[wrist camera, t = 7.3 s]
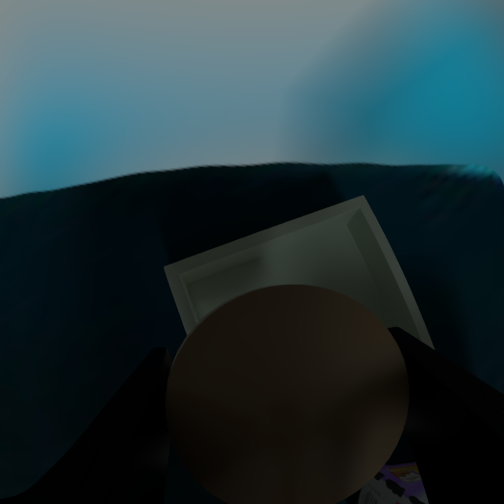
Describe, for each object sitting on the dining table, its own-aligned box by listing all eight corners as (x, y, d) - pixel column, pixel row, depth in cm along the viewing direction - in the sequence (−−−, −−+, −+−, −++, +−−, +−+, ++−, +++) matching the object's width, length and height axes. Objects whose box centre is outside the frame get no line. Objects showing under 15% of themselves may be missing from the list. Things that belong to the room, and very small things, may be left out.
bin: (417, 377, 22) (444, 379, 18) (248, 461, 20) (251, 481, 16) (347, 217, 26) (363, 195, 22) (174, 280, 24) (163, 266, 20)
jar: (331, 430, 14) (413, 489, 6) (204, 442, 14) (174, 525, 5) (321, 309, 16) (401, 267, 8) (194, 318, 15) (150, 283, 7)
